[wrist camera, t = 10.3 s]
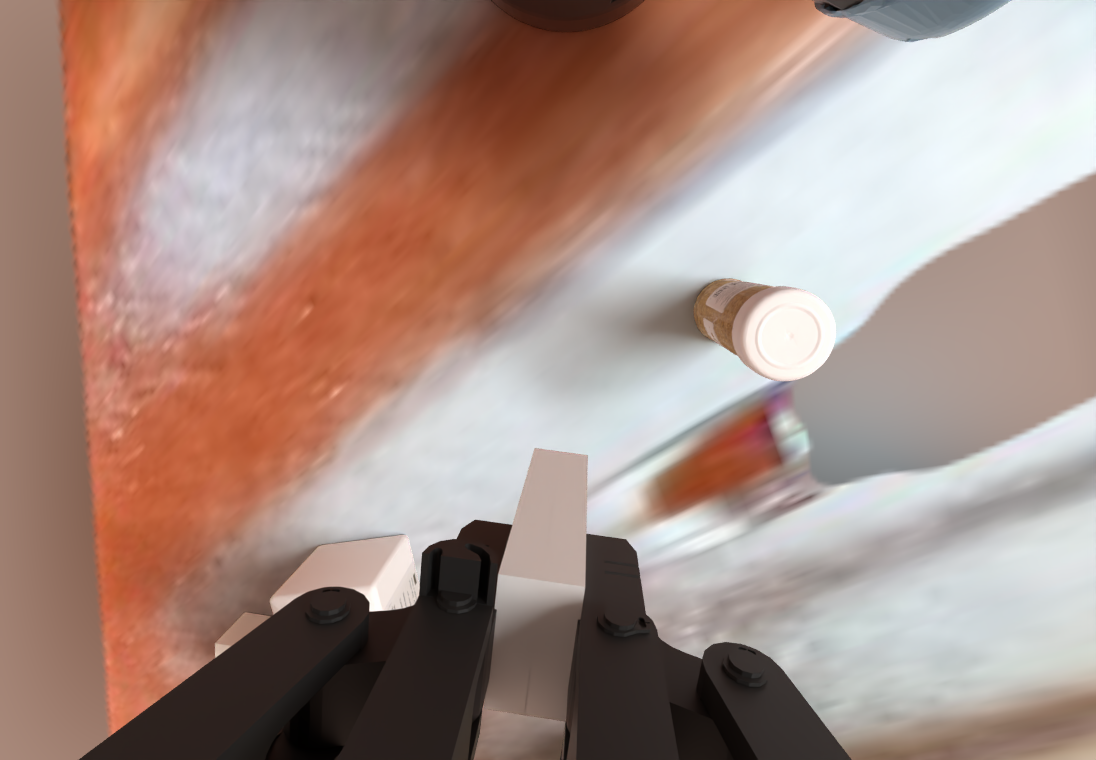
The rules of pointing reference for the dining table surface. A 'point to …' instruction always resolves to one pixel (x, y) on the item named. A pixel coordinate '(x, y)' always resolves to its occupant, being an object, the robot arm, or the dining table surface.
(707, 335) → the sprinkles bottle
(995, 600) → the dining table surface
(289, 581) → the container
